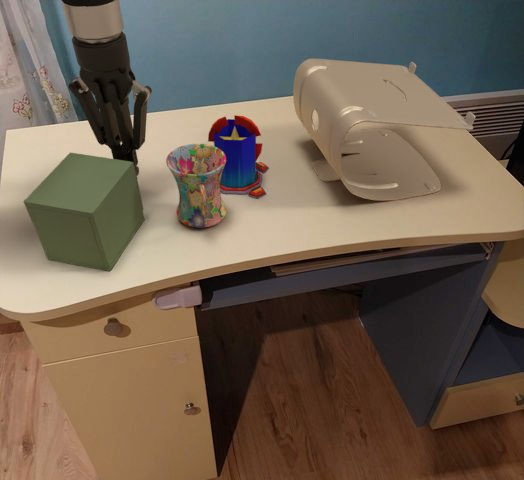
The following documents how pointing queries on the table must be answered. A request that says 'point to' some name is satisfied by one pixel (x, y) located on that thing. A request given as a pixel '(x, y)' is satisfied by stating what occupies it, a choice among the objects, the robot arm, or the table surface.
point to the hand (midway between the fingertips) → (130, 182)
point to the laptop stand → (376, 111)
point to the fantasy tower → (239, 156)
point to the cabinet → (87, 210)
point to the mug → (198, 183)
